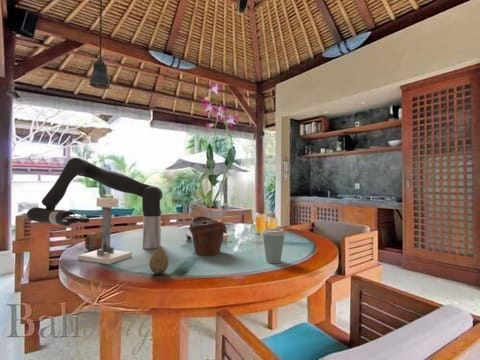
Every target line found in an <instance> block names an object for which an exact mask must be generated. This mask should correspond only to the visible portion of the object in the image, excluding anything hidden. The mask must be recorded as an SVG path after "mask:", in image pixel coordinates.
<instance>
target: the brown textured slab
mask: <svg viewBox="0 0 480 360" xmlns="http://www.w3.org/2000/svg"><path fill="white" fill-rule="evenodd" d="M84 247H85V249H86V251H95V250H98V249H101V247H102V231H95V232H92V233H89V234H88V235H86V237H85V240H84Z"/></svg>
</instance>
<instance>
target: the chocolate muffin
mask: <svg viewBox="0 0 480 360" xmlns="http://www.w3.org/2000/svg"><path fill="white" fill-rule="evenodd" d="M189 225H190V226H189V229H188V231H190V233H191V236H192V242H193V246H194V247H193V249H194V253H195V254H196V255H197V256H209V257H211V256H216V255H219V254H220V252H221V247H222V244H223V243H222V242H223V238H224V235H225V234H226V236H227V235H228V231H227V230H228V229H227V225H226V224H225V223H224V222H221V221H219V220H216V219H213V218H209V217H205V216H196V217H194V218H193V219H192V220H191V221H190V224H189Z"/></svg>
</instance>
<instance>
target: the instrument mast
mask: <svg viewBox="0 0 480 360" xmlns="http://www.w3.org/2000/svg"><path fill="white" fill-rule="evenodd" d="M95 204H96V208H99V207H100V208H102V220H101V222H102V225H101V228H102V229H101V232H102V246H101V247H100V249H101V250H104V253H105V252H110V247H111V235H112V234H111V232H112V228H111V227H112V208H119V197H114V195H111V194H103V195H102V196H101V197H96V203H95Z"/></svg>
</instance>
